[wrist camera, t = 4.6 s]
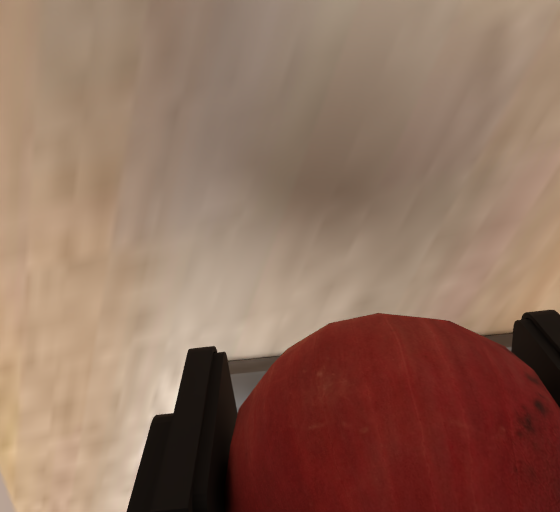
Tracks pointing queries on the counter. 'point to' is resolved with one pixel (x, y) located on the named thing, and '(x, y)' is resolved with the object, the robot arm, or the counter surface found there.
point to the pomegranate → (396, 425)
